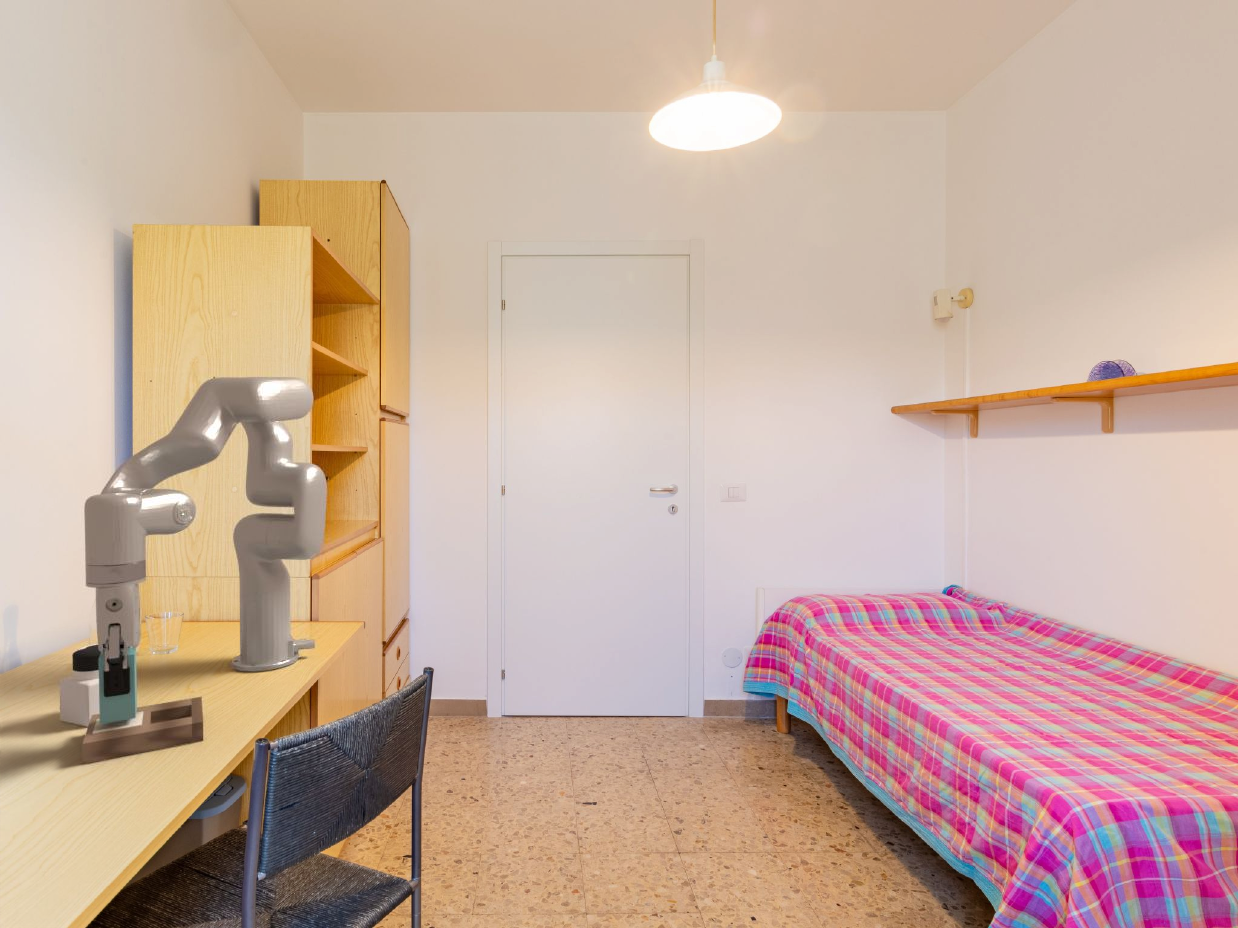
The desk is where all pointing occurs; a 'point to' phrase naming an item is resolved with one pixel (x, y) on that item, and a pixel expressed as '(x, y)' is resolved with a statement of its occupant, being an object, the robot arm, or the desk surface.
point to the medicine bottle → (81, 687)
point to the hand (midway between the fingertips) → (118, 688)
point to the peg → (121, 704)
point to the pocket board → (145, 730)
